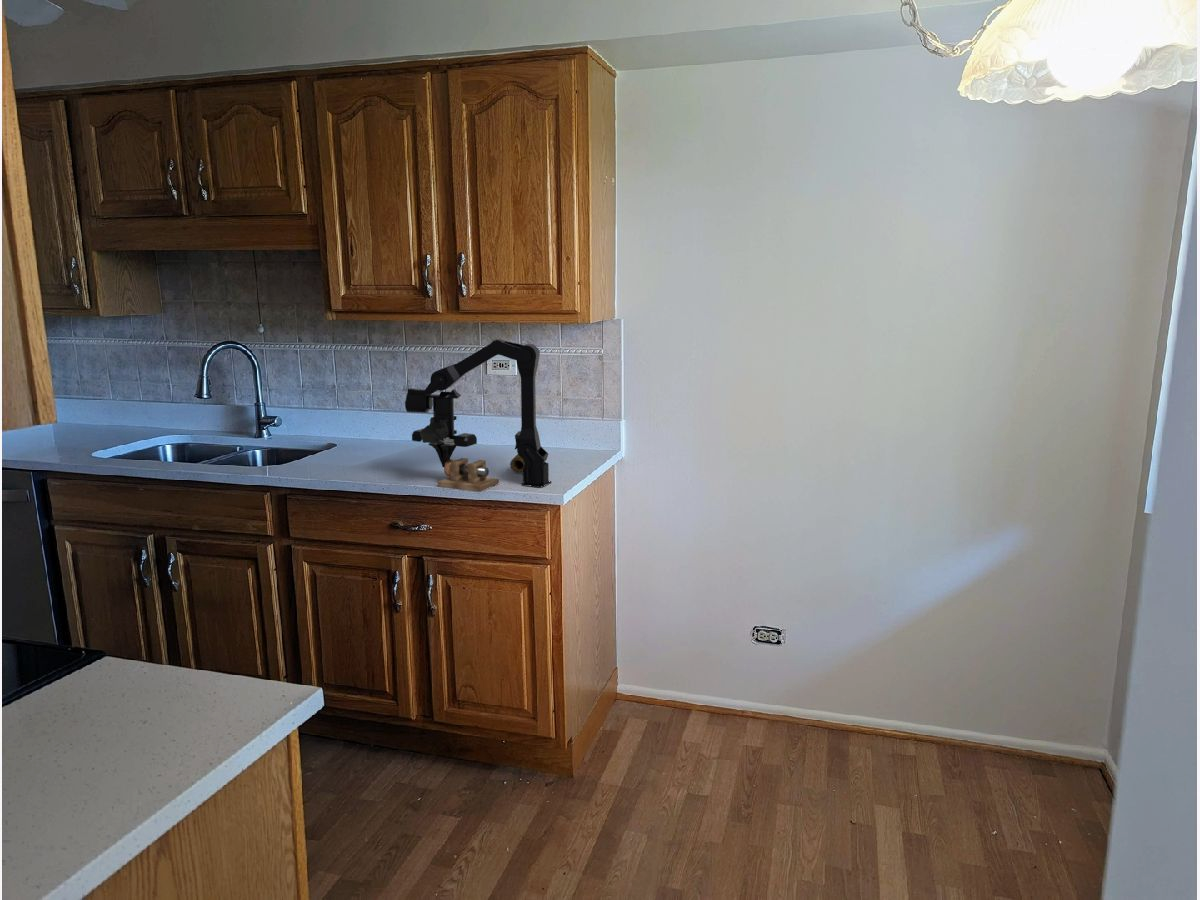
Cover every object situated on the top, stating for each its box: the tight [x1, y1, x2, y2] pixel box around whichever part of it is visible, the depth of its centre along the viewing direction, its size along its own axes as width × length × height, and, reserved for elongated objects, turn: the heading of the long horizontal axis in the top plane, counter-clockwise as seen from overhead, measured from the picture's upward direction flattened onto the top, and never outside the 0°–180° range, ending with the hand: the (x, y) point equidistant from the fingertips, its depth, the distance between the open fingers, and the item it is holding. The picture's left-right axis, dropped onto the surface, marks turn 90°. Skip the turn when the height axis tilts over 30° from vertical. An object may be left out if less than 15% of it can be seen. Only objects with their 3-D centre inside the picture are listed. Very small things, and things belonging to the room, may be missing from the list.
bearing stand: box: [437, 457, 500, 493], centre depth 242 cm, size 14×10×7 cm
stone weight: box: [509, 453, 525, 474], centre depth 263 cm, size 15×7×7 cm, turn 165°
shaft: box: [443, 458, 490, 478], centre depth 242 cm, size 12×5×5 cm, turn 65°
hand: (444, 467), depth 245 cm, fingers closed
